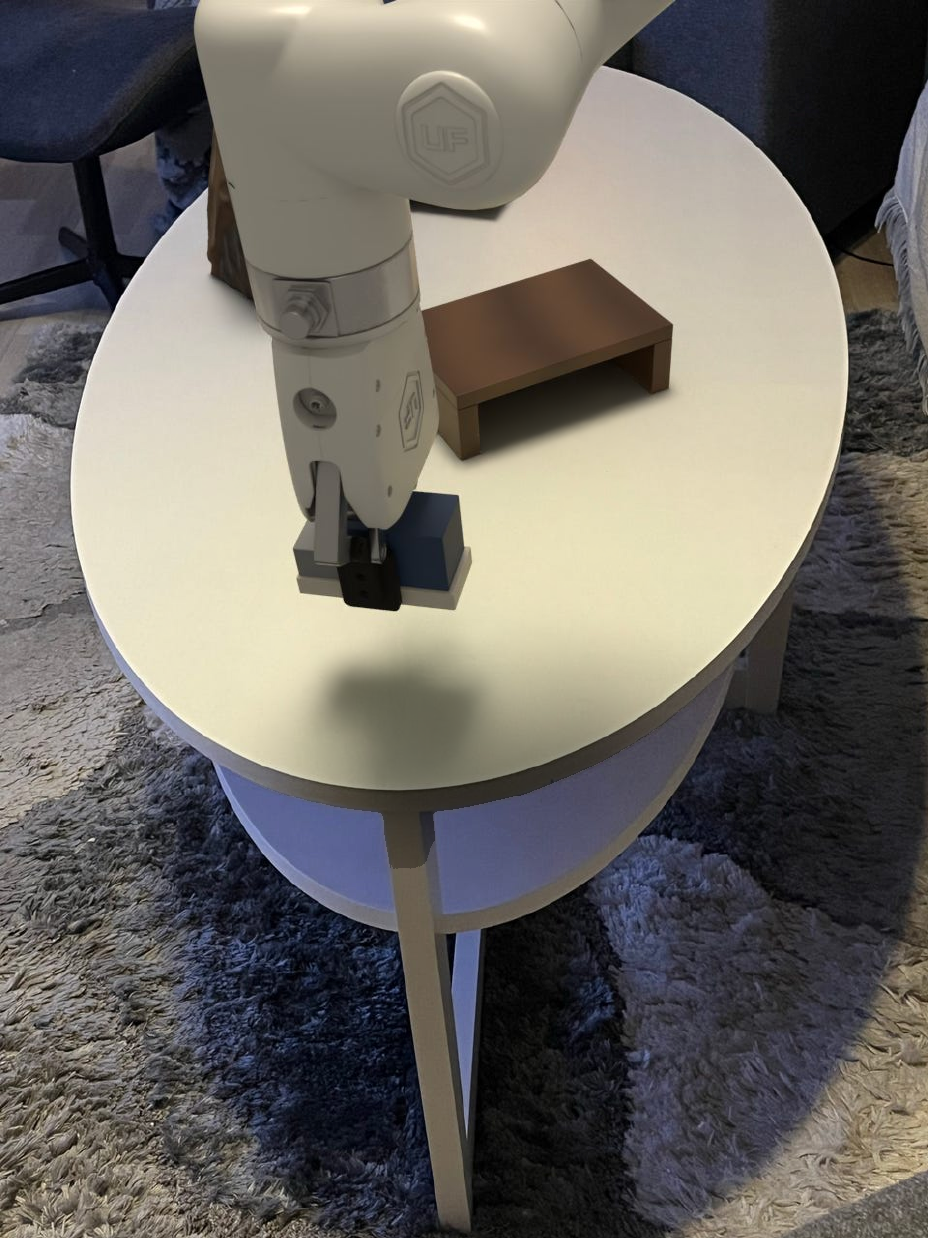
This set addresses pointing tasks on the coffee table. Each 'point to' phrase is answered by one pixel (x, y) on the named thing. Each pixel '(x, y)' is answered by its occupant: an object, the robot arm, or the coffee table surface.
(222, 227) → the owl
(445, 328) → the low brown table
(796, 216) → the coffee table surface
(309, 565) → the stacked block assembly
